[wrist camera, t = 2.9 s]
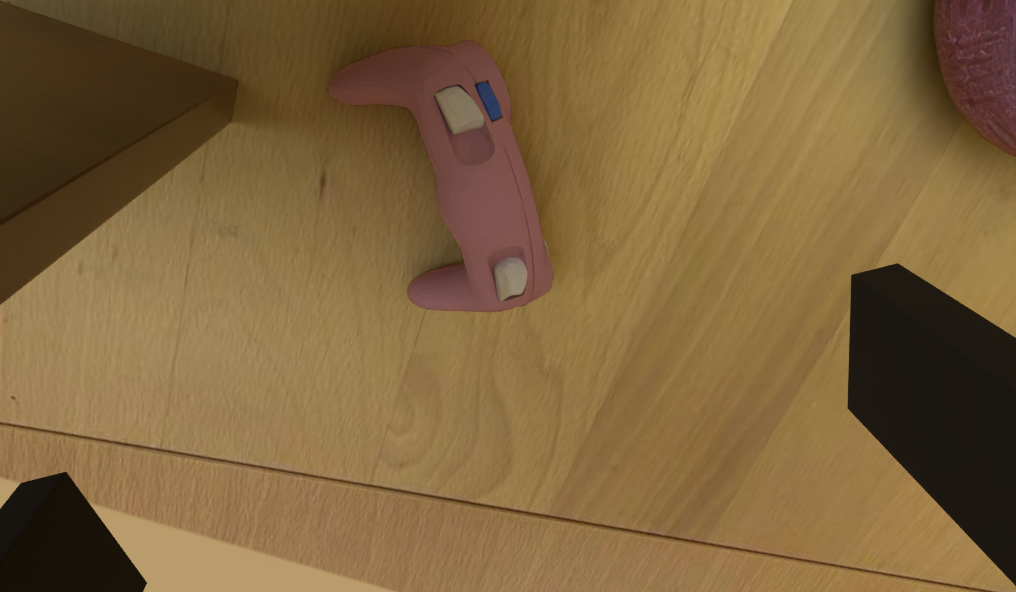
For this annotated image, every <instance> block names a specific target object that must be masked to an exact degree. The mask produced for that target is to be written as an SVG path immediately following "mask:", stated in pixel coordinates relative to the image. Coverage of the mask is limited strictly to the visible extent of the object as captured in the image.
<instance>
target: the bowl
mask: <svg viewBox="0 0 1016 592" xmlns="http://www.w3.org/2000/svg"><path fill="white" fill-rule="evenodd" d="M933 26H934V35H935V44H936V50H937V56H938V62H939V67H940V71H941V73H942V76H943V79H944V82H945V85H946V87H947V90H948V92H949V94H950V97H951V99H952V101H953V103H954V105H955V107H956V109H957V110H958V111H959V112H960V114H961V115H962V116H963V117H964V118H965V119H966V121H967V122H968V123H969V124H970V125H971V126H972V127H973V128H974V129H975V130H976V131H977V132H978V133H979V134H980V135H981V136H982V137H983V138H985V139H986V140H987V141H988V142H990V143H992V144H993V145H995V146H997V147H999V148H1000V149H1002V150H1004V151H1005V152H1007V153H1009V154H1010V155H1012V156H1014V157H1016V0H935V1H934V17H933Z"/></svg>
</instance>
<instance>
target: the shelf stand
mask: <svg viewBox="0 0 1016 592" xmlns="http://www.w3.org/2000/svg"><path fill="white" fill-rule="evenodd" d="M237 85H238V81H237V80H235V79H232V78H229V77H226V76H223V75H220V74H217V73H214V72H211V71H208V70H205V69H202V68H199V67H196V66H193V65H190V64H187V63H184V62H181V61H178V60H175V59H172V58H169V57H166V56H163V55H160V54H157V53H154V52H151V51H148V50H145V49H142V48H139V47H136V46H133V45H130V44H127V43H124V42H121V41H118V40H115V39H112V38H109V37H106V36H103V35H100V34H97V33H94V32H91V31H88V30H85V29H82V28H79V27H76V26H73V25H70V24H67V23H64V22H61V21H58V20H55V19H52V18H49V17H46V16H43V15H40V14H37V13H34V12H31V11H27V10H24V9H21V8H18V7H15V6H12V5H9V4H6V3H3V2H0V305H1V304H2V303H3V302H5V301H6V300H7V299H8V298H10V297H11V296H12V295H13V294H15V293H16V292H17V291H18V290H20V289H21V288H22V287H24V286H25V285H26V284H27V283H29V282H30V281H31V280H32V279H34V278H35V277H36V276H37V275H39V274H40V273H41V272H42V271H44V270H45V269H46V268H48V267H49V266H50V265H51V264H53V263H54V262H55V261H56V260H58V259H59V258H60V257H61V256H63V255H64V254H65V253H67V252H68V251H69V250H70V249H72V248H73V247H74V246H75V245H77V244H78V243H79V242H80V241H82V240H83V239H84V238H85V237H87V236H88V235H89V234H91V233H92V232H93V231H94V230H96V229H97V228H98V227H99V226H101V225H102V224H103V223H104V222H106V221H107V220H108V219H109V218H111V217H112V216H113V215H115V214H116V213H117V212H118V211H120V210H121V209H122V208H123V207H125V206H126V205H127V204H128V203H130V202H131V201H132V200H134V199H135V198H136V197H137V196H139V195H140V194H141V193H142V192H144V191H145V190H146V189H147V188H149V187H150V186H151V185H152V184H154V183H155V182H156V181H158V180H159V179H160V178H161V177H163V176H164V175H165V174H166V173H168V172H169V171H170V170H171V169H173V168H174V167H175V166H176V165H178V164H179V163H180V162H182V161H183V160H184V159H185V158H187V157H188V156H189V155H190V154H192V153H193V152H194V151H195V150H197V149H198V148H199V147H201V146H202V145H203V144H204V143H206V142H207V141H208V140H209V139H211V138H212V137H213V136H214V135H216V134H217V133H218V132H219V131H221V130H222V129H223V128H225V127H226V126H227V125H228V124H230V122H231V118H232V113H233V107H234V102H235V96H236V91H237Z"/></svg>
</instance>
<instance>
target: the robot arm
mask: <svg viewBox="0 0 1016 592" xmlns="http://www.w3.org/2000/svg"><path fill="white" fill-rule="evenodd" d="M848 409H849V410H850V411H851V412H852V413H853V415H854V416H855V417H856V418H857V419H858V420H859V421H860V422H861V423H862V424H863V425H864V426H865V427H866V428H867V429H868V430H869V431H870V432H871V434H872V435H873V436H874V437H875V438H876V439H877V440H878V441H879V442H880V443H881V444H882V445H883V446H884V447H885V448H886V449H887V450H888V451H889V453H890V454H891V455H892V456H893V457H894V458H895V459H896V460H897V461H898V462H899V463H900V464H901V465H902V466H903V467H904V468H905V469H906V470H907V472H908V473H909V474H910V475H911V476H912V477H913V478H914V479H915V480H916V481H917V482H918V483H919V484H920V485H921V486H922V487H923V488H924V490H925V491H926V492H927V493H928V494H929V495H930V496H931V497H932V498H933V499H934V500H935V501H936V502H937V503H938V504H939V505H940V506H941V507H942V509H943V510H944V511H945V512H946V513H947V514H948V515H949V516H950V517H951V518H952V519H953V520H954V521H955V522H956V523H957V524H958V525H959V526H960V528H961V529H962V530H963V531H964V532H965V533H966V534H967V535H968V536H969V537H970V538H971V539H972V540H973V541H974V542H975V543H976V544H977V545H978V547H979V548H980V549H981V550H982V551H983V552H984V553H985V554H986V555H987V556H988V557H989V558H990V559H991V560H992V561H993V562H994V563H995V564H996V566H997V567H998V568H999V569H1000V570H1001V571H1002V572H1003V573H1004V574H1005V575H1006V576H1007V577H1008V578H1009V579H1010V580H1011V581H1012V582H1013V583H1014V585H1015V586H1016V338H1015V337H1013V336H1012V335H1010V334H1009V333H1007V332H1005V331H1004V330H1002V329H1001V328H999V327H998V326H996V325H994V324H993V323H991V322H990V321H988V320H986V319H985V318H983V317H982V316H980V315H979V314H977V313H975V312H974V311H972V310H971V309H969V308H968V307H966V306H964V305H963V304H961V303H960V302H958V301H956V300H955V299H953V298H952V297H950V296H949V295H947V294H945V293H944V292H942V291H941V290H939V289H937V288H936V287H934V286H933V285H931V284H930V283H928V282H926V281H925V280H923V279H922V278H920V277H918V276H917V275H915V274H914V273H912V272H911V271H909V270H907V269H906V268H904V267H903V266H901V265H899V264H898V263H897V264H893V265H889V266H885V267H881V268H877V269H873V270H869V271H865V272H861V273H857V274H853V275H851V308H850V343H849V378H848ZM146 584H147V582H146V581H145V579H144V578H143V577H142V575H141V574H140V573H139V571H138V570H137V568H136V567H135V566H134V564H133V563H132V562H131V560H130V559H129V557H128V556H127V555H126V553H125V552H124V551H123V549H122V548H121V547H120V545H119V544H118V542H117V541H116V540H115V538H114V537H113V535H112V534H111V533H110V531H109V530H108V529H107V527H106V526H105V524H104V523H103V522H102V520H101V519H100V518H99V516H98V515H97V514H96V512H95V511H94V509H93V508H92V507H91V505H90V504H89V503H88V501H87V500H86V498H85V497H84V496H83V494H82V493H81V492H80V490H79V489H78V487H77V486H76V485H75V483H74V482H73V481H72V479H71V478H70V476H69V475H68V474H67V472H63V473H59V474H55V475H51V476H47V477H43V478H39V479H35V480H31V481H27V482H24V483H21V484H20V485H19V486H18V487H17V489H16V490H15V491H14V492H13V494H12V495H11V496H10V498H9V499H8V500H7V501H6V502H5V504H4V505H3V506H2V507H1V509H0V592H143V590H144V588H145V586H146Z"/></svg>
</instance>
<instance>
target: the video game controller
mask: <svg viewBox="0 0 1016 592" xmlns="http://www.w3.org/2000/svg"><path fill="white" fill-rule="evenodd" d="M327 90H328V94H329V96H331V97H332V98H333V99H335V100H337V101H338V102H341V103H345V104H348V105H377V104H388V105H396V106H403V107H407V108H408V109H410V110H411V111H412V113H413V115H414V117H415V119H416V122H417V125H418V128H419V131H420V134H421V137H422V140H423V142H424V145H425V147H426V150H427V153H428V155H429V158H430V160H431V163H432V165H433V168H434V176H435V187H436V194H437V201H438V206H439V209H440V212H441V215H442V218H443V221H444V223H445V224H446V226H447V228H448V229H449V231H450V233H451V235H452V236H453V237H454V239H455V240H456V241H457V243H458V244H459V245H460V249H461V253H462V256H463V260H464V263H462V264H456V265H450V266H444V267H441V268H438V269H434V270H431V271H428V272H426V273H424V274H423V275H420V276H418V277H416V278H415V279H414V280H413V281H412V282H411V283H410V284H409V286H408V289H407V295H408V297H409V299H410V300H411V301H412V303H414V304H415V305H417V306H419V307H421V308H425V309H429V310H442V311H472V312H501V311H505V310H508V309H512V308H515V307H518V306H524V305H527V304H529V303H530V302H532V301H534V300H535V299H537V298H539V297H541V296H542V295H544V294H546V293H547V292H549V290H550V289H551V287H552V282H553V269H552V264H551V261H550V258H549V250H548V246H547V243H546V241H545V240H544V238H543V237H542V233H541V225H540V220H539V216H538V212H537V207H536V203H535V198H534V194H533V190H532V187H531V183H530V180H529V177H528V173H527V170H526V167H525V163H524V160H523V157H522V154H521V152H520V149H519V146H518V143H517V140H516V138H515V135H514V133H513V131H512V128H511V103H510V97H509V93H508V90H507V87H506V84H505V81H504V78H503V76H502V74H501V72H500V70H499V68H498V66H497V64H496V63H495V61H494V60H493V59H492V57H491V56H490V54H489V53H488V52H487V51H486V50H485V49H484V48H483V47H482V46H481V45H479V44H478V43H476V42H474V41H470V40H464V41H461V42H458V43H455V44H452V45H450V46H447V47H442V46H436V45H421V46H406V47H399V48H394V49H391V50H387V51H384V52H381V53H378V54H375V55H372V56H370V57H367V58H364V59H361V60H358V61H356V62H354V63H352V64H349V65H347V66H346V67H344V68H343V69H341V70H340V71H339V72H337V73H336V74H335V75H334V76H332V78H331V79H330V81H329V82H328V86H327Z"/></svg>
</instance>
